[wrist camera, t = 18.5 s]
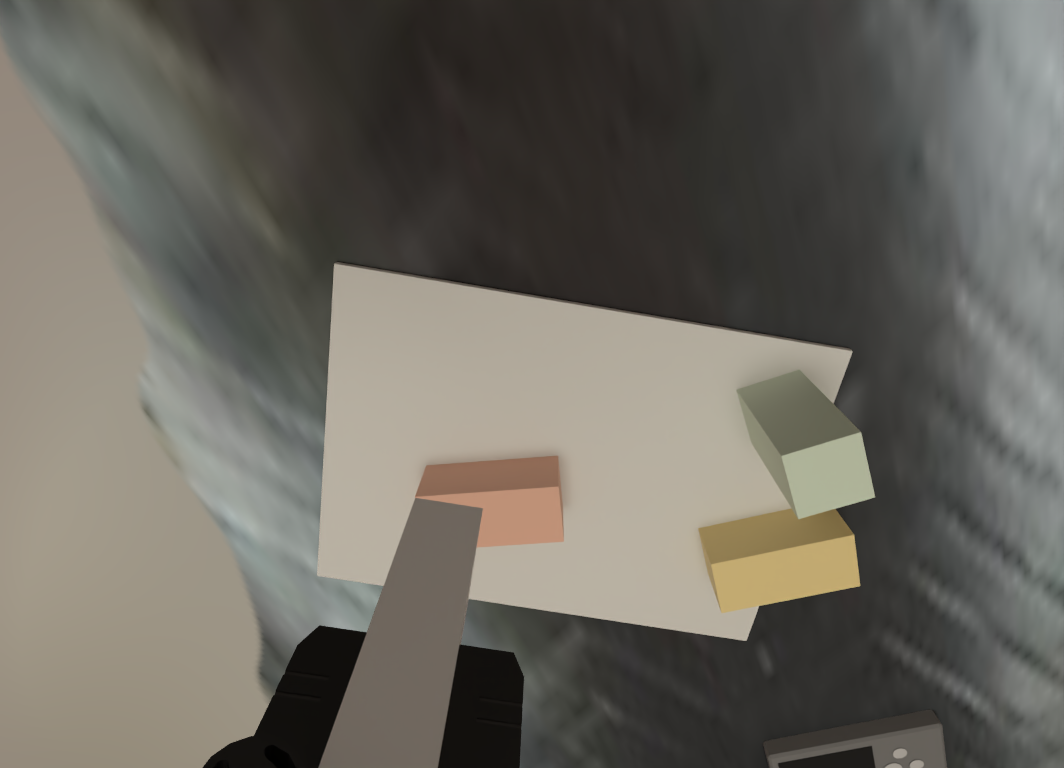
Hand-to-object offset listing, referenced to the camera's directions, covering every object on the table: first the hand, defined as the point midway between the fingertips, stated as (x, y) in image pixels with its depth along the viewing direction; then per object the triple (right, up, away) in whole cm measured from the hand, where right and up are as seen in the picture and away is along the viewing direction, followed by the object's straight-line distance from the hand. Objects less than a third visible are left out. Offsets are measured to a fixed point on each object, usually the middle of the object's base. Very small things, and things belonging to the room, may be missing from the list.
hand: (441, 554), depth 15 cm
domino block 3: (+15, -10, +36) cm, 40 cm away
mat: (+4, -3, +36) cm, 36 cm away
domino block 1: (-6, -5, +34) cm, 35 cm away
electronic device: (+32, -31, +47) cm, 65 cm away
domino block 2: (+19, +2, +33) cm, 38 cm away
